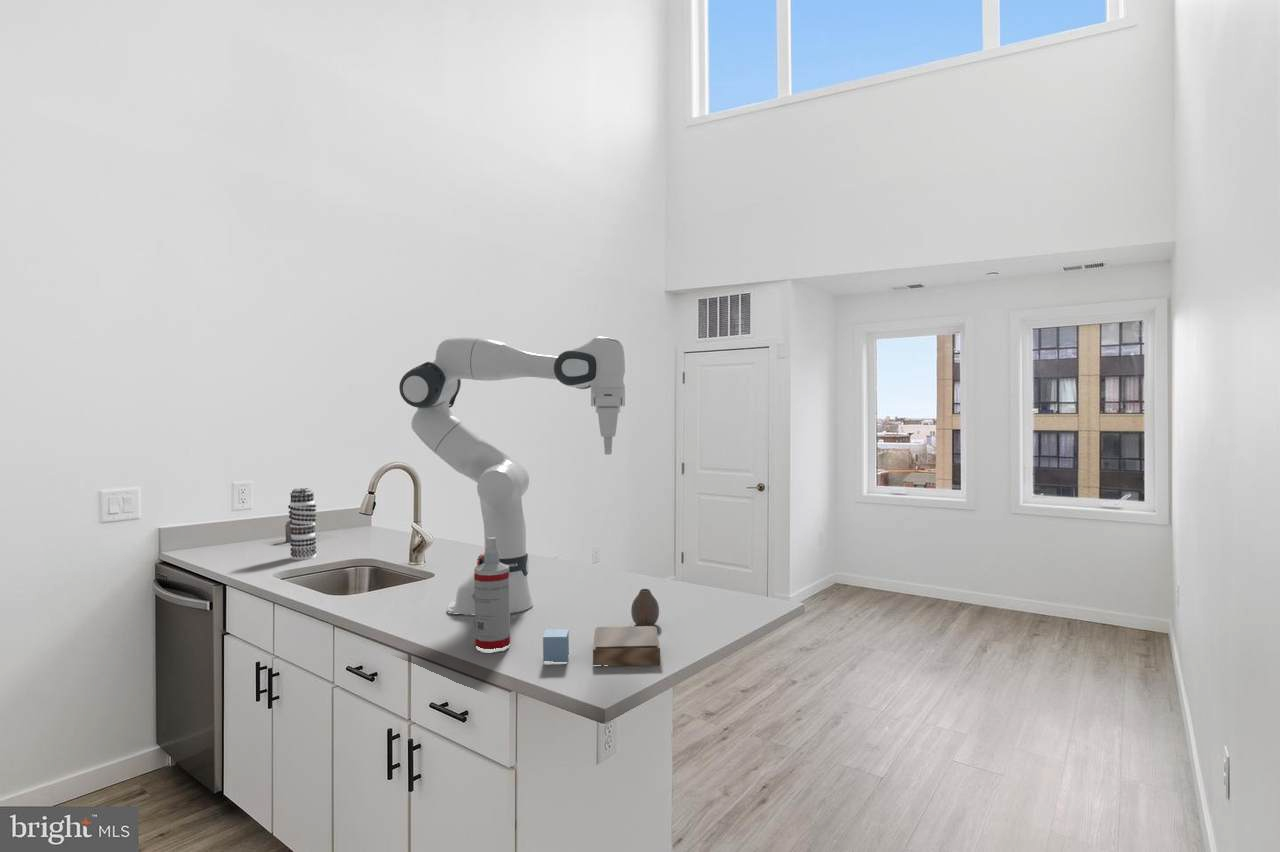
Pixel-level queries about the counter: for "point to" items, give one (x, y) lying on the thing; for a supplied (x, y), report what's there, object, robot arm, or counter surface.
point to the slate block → (556, 645)
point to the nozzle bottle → (492, 600)
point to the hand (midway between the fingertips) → (608, 453)
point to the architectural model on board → (288, 531)
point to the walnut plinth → (626, 646)
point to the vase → (645, 609)
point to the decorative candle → (302, 524)
